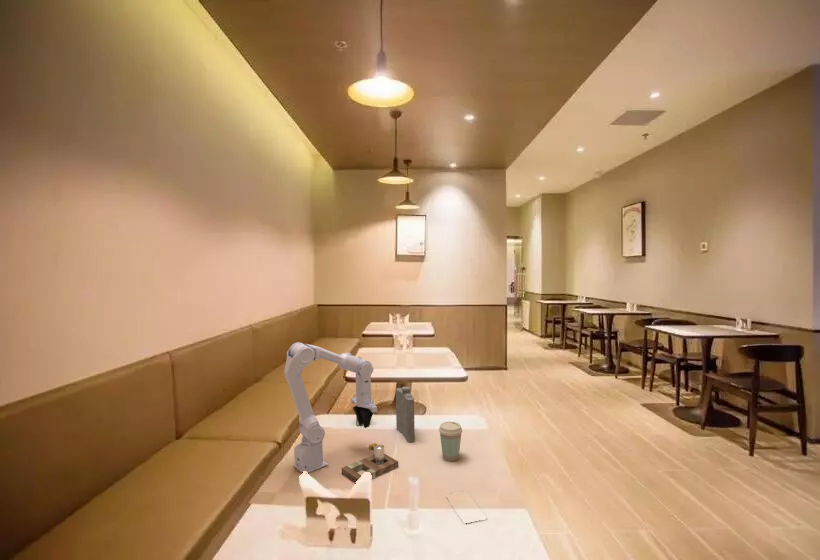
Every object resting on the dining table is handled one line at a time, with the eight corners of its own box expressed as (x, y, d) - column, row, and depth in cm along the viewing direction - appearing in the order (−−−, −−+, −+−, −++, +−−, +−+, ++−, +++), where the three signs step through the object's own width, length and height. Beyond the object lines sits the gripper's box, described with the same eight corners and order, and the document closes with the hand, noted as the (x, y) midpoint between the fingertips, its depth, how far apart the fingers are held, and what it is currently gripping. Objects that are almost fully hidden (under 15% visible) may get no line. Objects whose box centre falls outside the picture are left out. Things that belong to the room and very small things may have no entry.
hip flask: (395, 428, 176) (394, 382, 175) (404, 426, 178) (403, 381, 177) (408, 443, 161) (407, 393, 160) (417, 441, 163) (417, 392, 162)
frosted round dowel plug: (378, 469, 141) (378, 450, 141) (372, 466, 144) (372, 446, 144) (386, 466, 144) (386, 446, 143) (380, 462, 146) (380, 443, 146)
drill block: (358, 485, 132) (358, 479, 132) (341, 473, 139) (341, 467, 139) (398, 466, 143) (398, 461, 143) (381, 456, 150) (380, 451, 150)
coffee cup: (461, 464, 144) (461, 431, 144) (437, 462, 146) (437, 429, 146) (463, 452, 153) (463, 421, 152) (440, 451, 154) (440, 420, 154)
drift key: (377, 454, 148) (377, 449, 148) (368, 449, 152) (368, 445, 152) (383, 451, 150) (383, 447, 150) (375, 447, 154) (375, 442, 154)
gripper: (383, 392, 153) (384, 428, 153) (361, 384, 163) (361, 417, 164) (368, 397, 148) (368, 433, 149) (346, 388, 159) (347, 422, 159)
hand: (364, 425), depth 156 cm, fingers open, 3 cm apart
